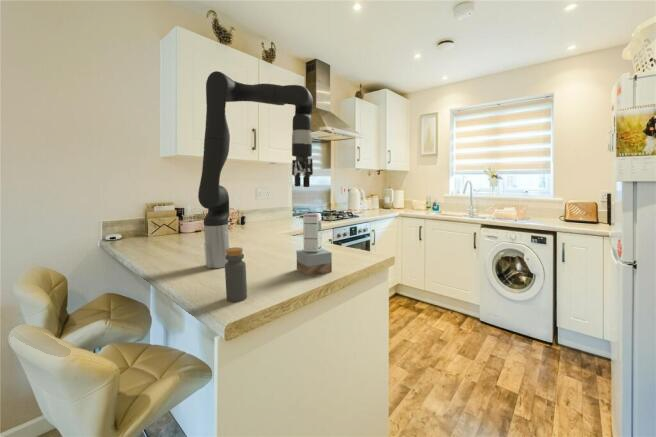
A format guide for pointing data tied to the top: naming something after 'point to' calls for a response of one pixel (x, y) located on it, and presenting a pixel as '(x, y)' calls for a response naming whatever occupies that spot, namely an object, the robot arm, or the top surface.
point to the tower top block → (314, 257)
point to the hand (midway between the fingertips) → (301, 186)
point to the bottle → (235, 275)
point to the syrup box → (312, 232)
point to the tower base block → (314, 269)
